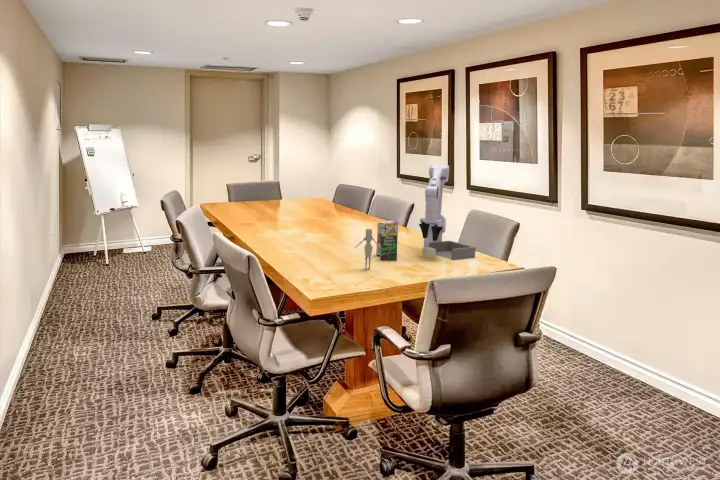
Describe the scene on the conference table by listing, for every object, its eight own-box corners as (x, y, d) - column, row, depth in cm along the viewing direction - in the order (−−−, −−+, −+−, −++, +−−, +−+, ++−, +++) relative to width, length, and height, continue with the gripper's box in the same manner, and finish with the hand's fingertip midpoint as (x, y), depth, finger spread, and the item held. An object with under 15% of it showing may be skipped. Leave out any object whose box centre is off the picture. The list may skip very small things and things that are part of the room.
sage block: (422, 258, 271) (422, 248, 270) (429, 257, 273) (430, 247, 273) (427, 259, 267) (428, 249, 266) (435, 259, 270) (435, 249, 269)
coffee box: (379, 260, 263) (380, 232, 261) (379, 259, 266) (380, 231, 264) (396, 260, 263) (398, 233, 261) (396, 259, 266) (397, 232, 264)
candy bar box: (384, 257, 270) (385, 223, 267) (375, 255, 273) (377, 222, 270) (397, 253, 279) (398, 221, 276) (389, 252, 282) (390, 220, 279)
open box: (428, 253, 282) (428, 242, 281) (449, 251, 289) (450, 240, 288) (452, 261, 266) (453, 249, 265) (474, 258, 273) (475, 247, 272)
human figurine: (380, 268, 247) (382, 228, 244) (381, 270, 244) (383, 229, 240) (353, 268, 246) (354, 227, 243) (354, 270, 242) (355, 229, 239)
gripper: (415, 209, 270) (414, 237, 273) (434, 213, 258) (432, 242, 261) (427, 209, 274) (425, 236, 276) (446, 212, 262) (444, 241, 264)
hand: (429, 239), depth 269 cm, fingers open, 7 cm apart
